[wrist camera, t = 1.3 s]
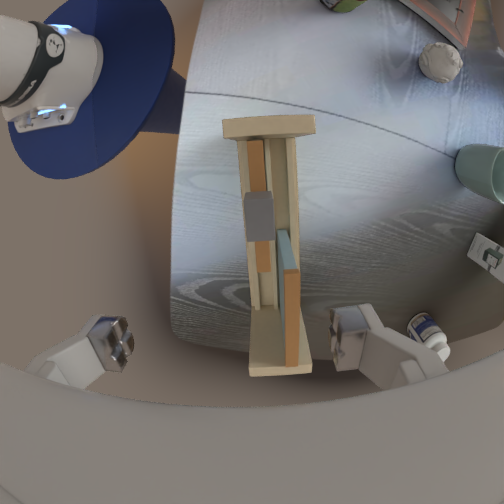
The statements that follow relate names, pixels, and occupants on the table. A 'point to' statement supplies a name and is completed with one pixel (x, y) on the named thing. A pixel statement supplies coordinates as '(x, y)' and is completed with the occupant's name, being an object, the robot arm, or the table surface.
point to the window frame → (275, 246)
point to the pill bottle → (428, 334)
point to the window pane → (259, 208)
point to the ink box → (488, 255)
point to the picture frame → (447, 17)
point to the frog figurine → (440, 62)
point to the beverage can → (342, 4)
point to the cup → (482, 170)
